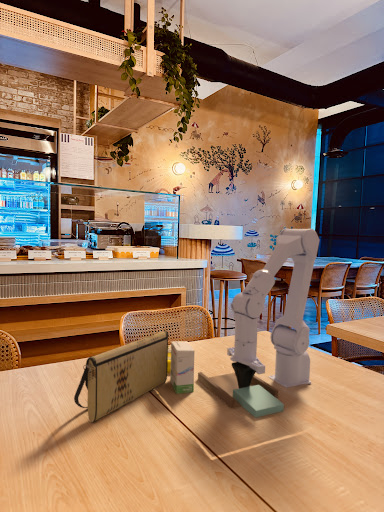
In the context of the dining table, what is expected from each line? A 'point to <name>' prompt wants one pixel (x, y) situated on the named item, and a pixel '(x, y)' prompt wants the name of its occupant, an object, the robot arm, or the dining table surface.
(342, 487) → the dining table surface
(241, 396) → the teal plate
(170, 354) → the element tile
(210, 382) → the walnut tray
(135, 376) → the clutch purse
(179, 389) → the ink box
